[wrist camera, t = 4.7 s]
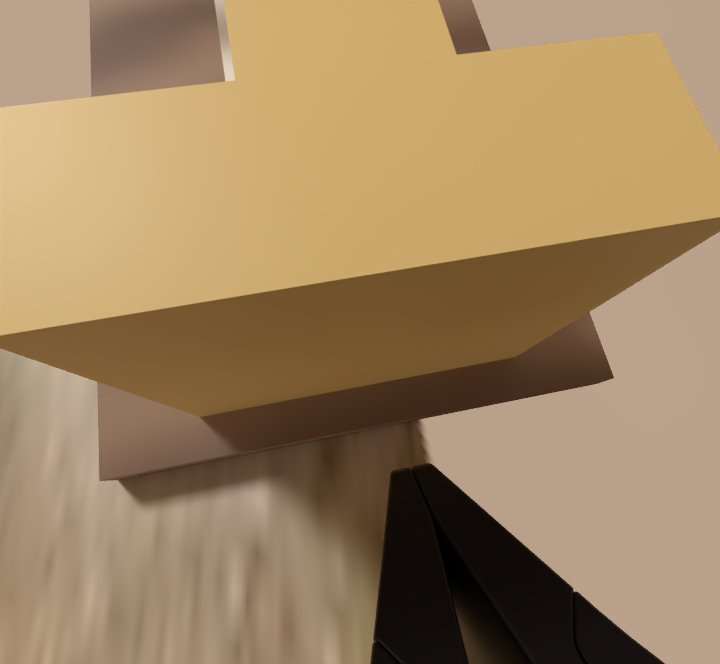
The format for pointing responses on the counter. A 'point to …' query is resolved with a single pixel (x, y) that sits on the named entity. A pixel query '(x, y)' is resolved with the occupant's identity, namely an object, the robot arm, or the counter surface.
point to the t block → (344, 206)
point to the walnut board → (313, 413)
